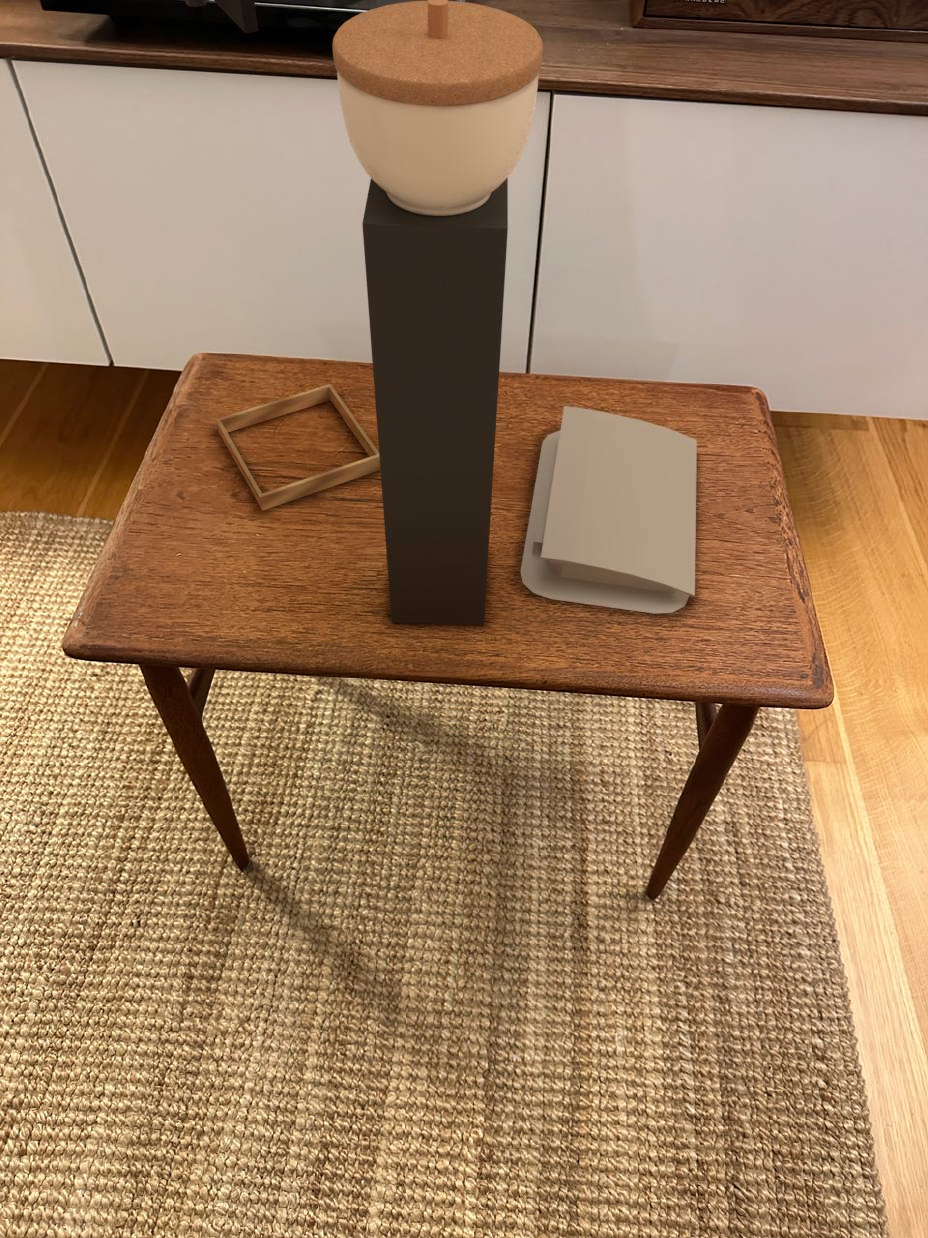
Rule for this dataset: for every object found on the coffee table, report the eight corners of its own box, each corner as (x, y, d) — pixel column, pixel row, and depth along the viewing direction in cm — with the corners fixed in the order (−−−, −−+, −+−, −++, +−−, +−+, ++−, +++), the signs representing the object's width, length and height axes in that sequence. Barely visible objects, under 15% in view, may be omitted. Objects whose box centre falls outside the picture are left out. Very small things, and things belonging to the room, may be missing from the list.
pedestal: (391, 622, 78) (362, 223, 49) (398, 554, 83) (375, 154, 54) (484, 626, 78) (507, 227, 49) (485, 556, 83) (507, 158, 54)
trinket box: (531, 148, 55) (545, -33, 48) (532, 242, 49) (547, 48, 41) (356, 141, 55) (343, -41, 48) (333, 234, 49) (313, 39, 41)
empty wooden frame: (262, 510, 86) (259, 497, 84) (219, 432, 93) (215, 419, 91) (382, 469, 90) (381, 455, 88) (332, 397, 96) (330, 383, 95)
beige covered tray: (516, 594, 80) (519, 565, 77) (545, 426, 94) (548, 396, 91) (690, 618, 79) (700, 590, 76) (693, 445, 93) (701, 414, 90)
